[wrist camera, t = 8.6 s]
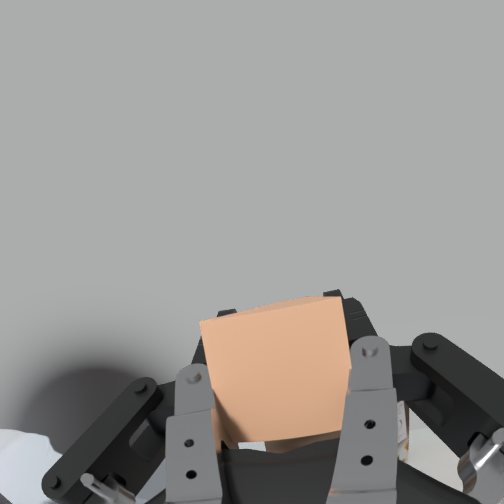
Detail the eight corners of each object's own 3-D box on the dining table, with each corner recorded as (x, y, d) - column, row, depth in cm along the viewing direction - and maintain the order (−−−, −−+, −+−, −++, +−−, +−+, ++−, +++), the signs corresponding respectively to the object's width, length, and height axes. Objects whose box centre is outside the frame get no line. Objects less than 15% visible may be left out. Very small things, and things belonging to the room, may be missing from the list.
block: (313, 328, 32) (308, 296, 32) (356, 426, 6) (340, 296, 7) (281, 334, 32) (275, 302, 33) (224, 442, 7) (199, 321, 8)
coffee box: (408, 466, 30) (411, 395, 33) (380, 482, 29) (380, 411, 32) (382, 450, 39) (380, 385, 42) (356, 462, 38) (352, 397, 41)
